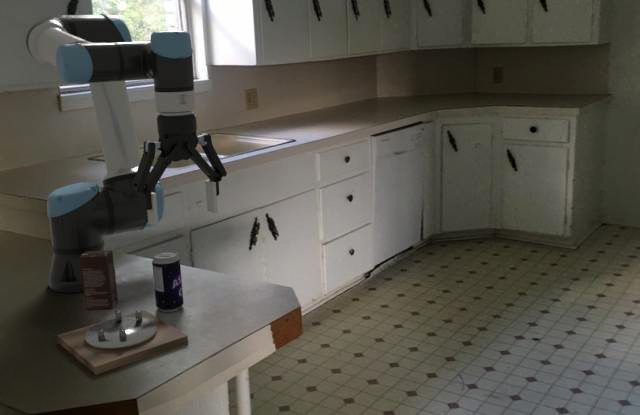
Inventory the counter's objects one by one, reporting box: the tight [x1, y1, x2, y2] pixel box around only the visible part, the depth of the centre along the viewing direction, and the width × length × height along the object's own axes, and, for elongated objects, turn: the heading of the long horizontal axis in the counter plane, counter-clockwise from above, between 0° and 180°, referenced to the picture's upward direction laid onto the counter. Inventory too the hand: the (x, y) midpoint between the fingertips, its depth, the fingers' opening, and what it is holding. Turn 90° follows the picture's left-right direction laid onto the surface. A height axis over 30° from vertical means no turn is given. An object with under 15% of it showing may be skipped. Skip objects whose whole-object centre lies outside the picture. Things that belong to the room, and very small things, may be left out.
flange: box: [85, 310, 157, 351], centre depth 128 cm, size 13×13×3 cm
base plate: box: [56, 309, 189, 376], centre depth 129 cm, size 18×18×2 cm
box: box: [79, 249, 119, 310], centre depth 146 cm, size 6×4×12 cm
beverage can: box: [151, 250, 184, 313], centre depth 144 cm, size 6×6×12 cm
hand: (183, 218), depth 138 cm, fingers open, 13 cm apart
